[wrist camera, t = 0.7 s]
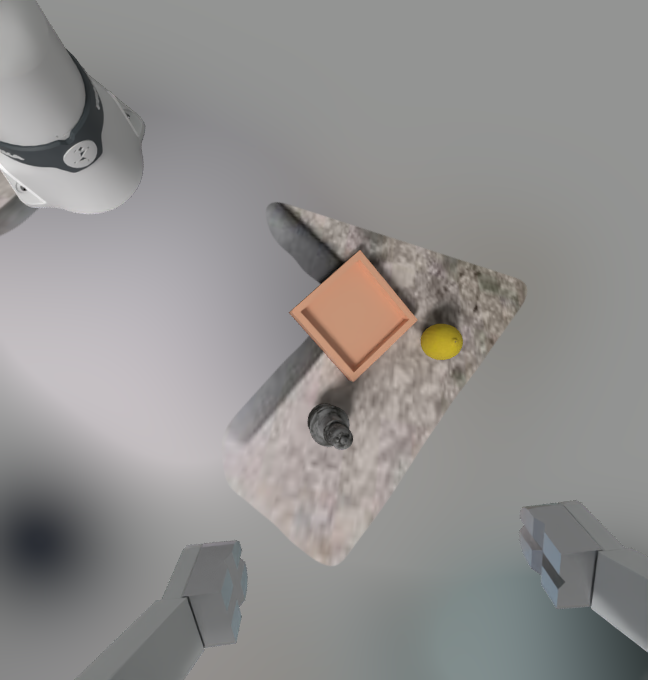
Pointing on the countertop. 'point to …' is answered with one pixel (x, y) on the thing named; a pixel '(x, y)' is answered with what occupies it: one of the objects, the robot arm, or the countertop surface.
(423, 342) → the lemon
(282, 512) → the countertop surface
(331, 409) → the dark grey chess piece
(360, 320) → the tray
